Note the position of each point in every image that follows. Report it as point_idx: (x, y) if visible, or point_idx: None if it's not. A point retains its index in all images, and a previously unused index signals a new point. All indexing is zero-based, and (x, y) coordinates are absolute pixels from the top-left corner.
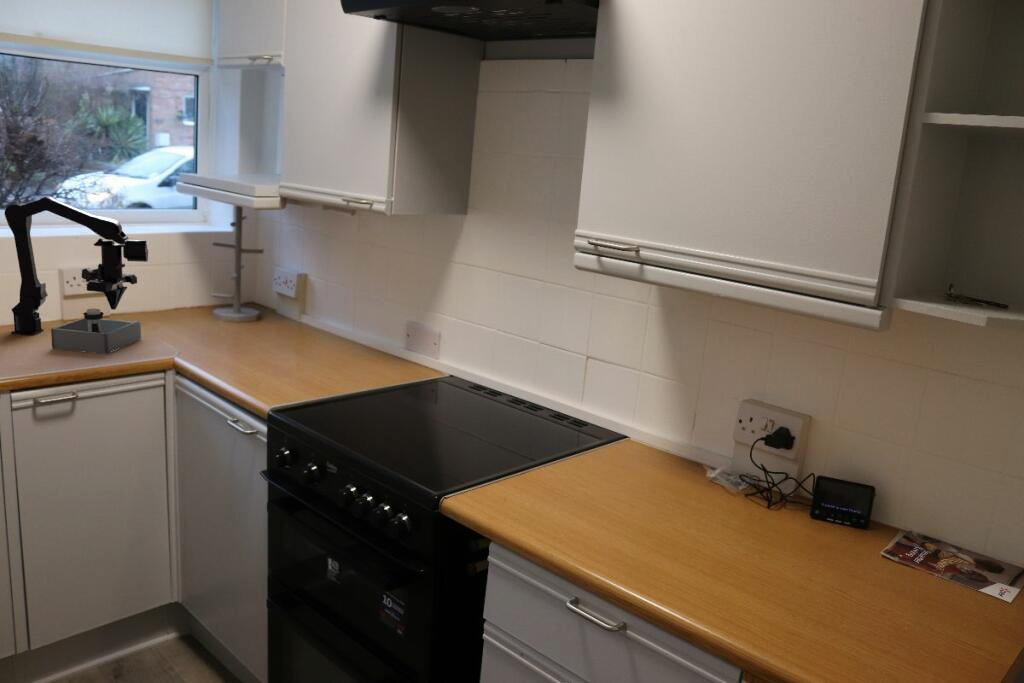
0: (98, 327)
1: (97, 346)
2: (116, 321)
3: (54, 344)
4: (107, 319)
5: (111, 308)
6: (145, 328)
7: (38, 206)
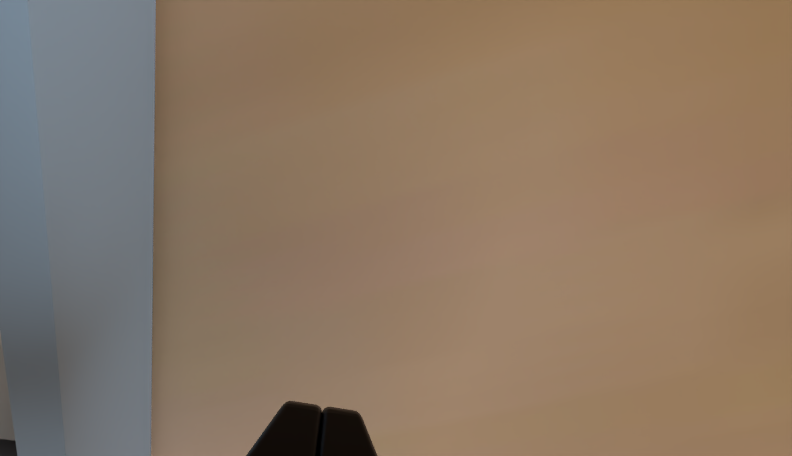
0: None
1: None
2: (15, 414)
3: None
4: (46, 263)
5: (276, 424)
6: (693, 382)
7: None
